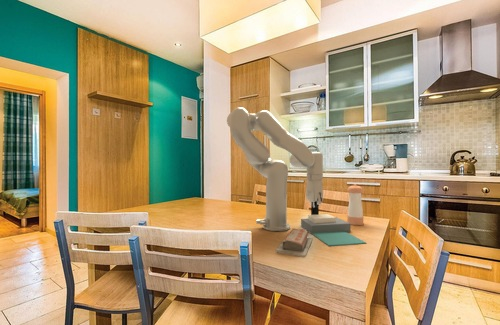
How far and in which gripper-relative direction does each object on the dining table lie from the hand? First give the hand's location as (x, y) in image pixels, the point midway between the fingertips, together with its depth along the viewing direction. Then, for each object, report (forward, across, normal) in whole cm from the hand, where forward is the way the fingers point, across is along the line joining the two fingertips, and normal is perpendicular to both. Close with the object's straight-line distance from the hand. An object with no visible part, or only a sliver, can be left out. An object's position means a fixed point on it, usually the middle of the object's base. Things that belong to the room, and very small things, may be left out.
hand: (314, 215), depth 118 cm
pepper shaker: (+5, +2, +20) cm, 21 cm away
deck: (+4, +8, +1) cm, 9 cm away
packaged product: (+5, +26, -20) cm, 34 cm away
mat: (+4, +22, -1) cm, 22 cm away
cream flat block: (+1, +7, 0) cm, 7 cm away
